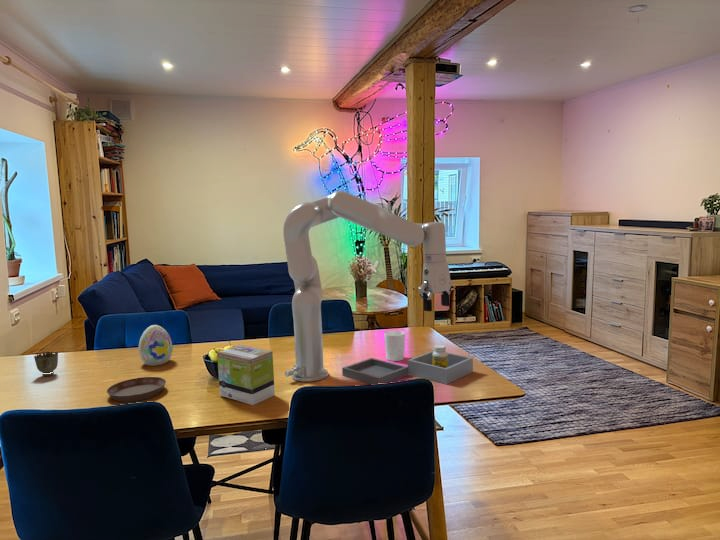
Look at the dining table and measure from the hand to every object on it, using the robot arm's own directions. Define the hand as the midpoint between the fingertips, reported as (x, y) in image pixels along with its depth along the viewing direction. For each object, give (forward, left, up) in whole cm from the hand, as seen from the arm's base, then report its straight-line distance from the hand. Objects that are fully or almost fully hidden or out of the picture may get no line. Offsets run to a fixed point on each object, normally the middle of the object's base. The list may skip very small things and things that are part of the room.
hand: (436, 308), depth 174 cm
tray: (-16, +15, -23) cm, 32 cm away
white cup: (+3, +22, -23) cm, 32 cm away
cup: (-92, +108, -23) cm, 144 cm away
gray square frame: (0, -1, -23) cm, 23 cm away
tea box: (-56, +33, -23) cm, 69 cm away
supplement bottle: (0, -1, -23) cm, 23 cm away
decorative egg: (-59, +91, -23) cm, 111 cm away
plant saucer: (-78, +63, -23) cm, 103 cm away
